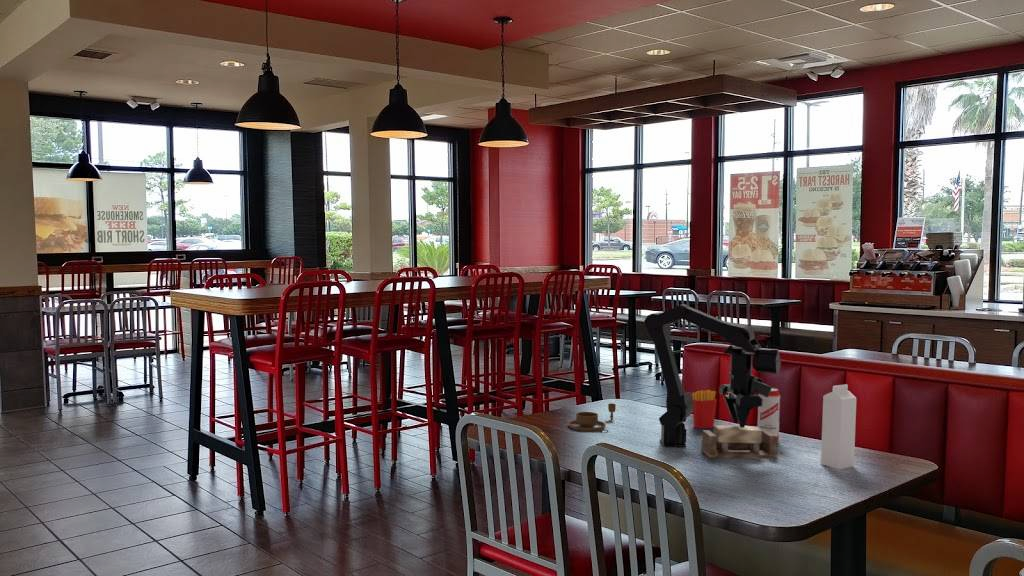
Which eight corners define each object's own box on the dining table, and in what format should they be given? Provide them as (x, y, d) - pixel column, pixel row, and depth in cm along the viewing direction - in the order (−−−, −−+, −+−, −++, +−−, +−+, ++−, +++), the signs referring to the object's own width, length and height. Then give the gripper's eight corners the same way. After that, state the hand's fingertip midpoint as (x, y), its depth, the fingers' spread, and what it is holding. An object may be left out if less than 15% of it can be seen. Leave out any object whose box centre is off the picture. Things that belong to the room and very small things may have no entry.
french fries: (710, 424, 262) (711, 388, 261) (717, 427, 258) (718, 390, 257) (688, 426, 259) (689, 389, 258) (695, 429, 255) (696, 391, 254)
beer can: (779, 444, 237) (781, 391, 236) (758, 443, 238) (759, 390, 237) (777, 439, 243) (779, 387, 242) (755, 438, 244) (757, 386, 243)
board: (718, 442, 223) (718, 429, 223) (714, 437, 228) (714, 425, 228) (761, 443, 223) (761, 430, 223) (756, 438, 228) (756, 426, 228)
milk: (853, 467, 214) (858, 386, 213) (838, 470, 211) (842, 387, 210) (834, 461, 219) (838, 382, 218) (819, 464, 216) (823, 383, 215)
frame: (709, 457, 221) (710, 436, 221) (701, 450, 229) (701, 429, 229) (776, 457, 222) (777, 436, 222) (765, 450, 230) (766, 429, 230)
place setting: (558, 424, 262) (558, 406, 262) (612, 420, 269) (612, 402, 269) (581, 436, 246) (582, 417, 245) (638, 431, 253) (639, 413, 252)
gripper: (782, 376, 215) (780, 433, 216) (756, 365, 234) (754, 417, 235) (741, 376, 215) (739, 433, 216) (719, 365, 233) (717, 417, 234)
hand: (739, 425), depth 225 cm, fingers open, 5 cm apart
